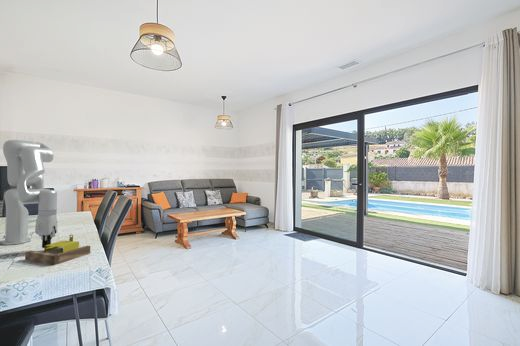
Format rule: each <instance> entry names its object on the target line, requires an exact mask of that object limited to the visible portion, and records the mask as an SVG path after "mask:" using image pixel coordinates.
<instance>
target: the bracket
mask: <svg viewBox="0 0 520 346" xmlns="http://www.w3.org/2000/svg"><path fill="white" fill-rule="evenodd" d="M59 248H62V253H63V252H66V251H70V250H73V249H77V248H80V241H74V235H73V234H72V233H71V234H69V240H60V241H56V242H53V243H52V242H51V244H49V245H46V246H45V247H44V248H43V249H44V251H43V252H44V253H48V252H50V251H53V250H56V249H59Z"/></svg>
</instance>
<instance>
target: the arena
mask: <svg viewBox="0 0 520 346" xmlns="http://www.w3.org/2000/svg"><path fill="white" fill-rule="evenodd" d="M24 253H25V254H24V255H25V256H24V260H25V261H29V262H34V263H41V264H45V265H46V264H47V265H51V266H52V265H53V266H56V265H58V264H61V263H66V262H68V261H71V260H75V259H77V258H81V257H84V256H87V255H90V254H91V245H84V246H81V247H80V246H79V248H77V249H73V250H70V251H66V252H63V251H62V252H60V253H50V252H44V251H35V250H26V251H25V252H24Z"/></svg>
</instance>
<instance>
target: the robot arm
mask: <svg viewBox="0 0 520 346" xmlns="http://www.w3.org/2000/svg"><path fill="white" fill-rule="evenodd" d="M2 153H3V156H4V158H5V160H6V167H7V169H6V171H7V183H8V184H9V186H11V187H16V188H12V189H11V188H10V189H8V190H6V191H5V193H4V196H3V197H4V203H5V231H4V234H5V235H3V236H2V238H4V239H3V240H2V241H0V243H1V245H3V246H9V245H11V246H13V245H20V244H25V243H29V242H30V241H32V238H31V237H29V235H28V234H29V232H28V231H29V210H28V209H27V207H25V205H30V204H31V205H32V204H33V205H34V204H38V206H37V207H38V209H37V210H38V211H37V212H38V213H37V217H36V222H35V229H34V232H35V235H37V236H39V237H41V248H42V249H44V247H45V246H46V245H49V244H52V239H53V238H54V237H56V234H57V233H58V218H57V208H58V206H57V205H58V191H57V190H54V189H49V188H45V184H44V183H45V181H44V174H45V173H46V171H45V167H44V163H51V162H52V161H53V160H54V158H55V157H54V153H53V151H52V149H51V148H49V147H48V146H47V145H46V144H44V143H42V142H38V141H29V140H19V139H9V140H6V141H4V143H3V144H2ZM29 187H31V188H29Z"/></svg>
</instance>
